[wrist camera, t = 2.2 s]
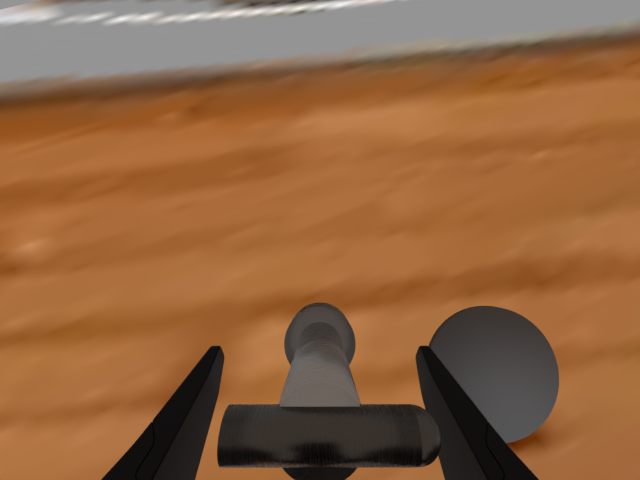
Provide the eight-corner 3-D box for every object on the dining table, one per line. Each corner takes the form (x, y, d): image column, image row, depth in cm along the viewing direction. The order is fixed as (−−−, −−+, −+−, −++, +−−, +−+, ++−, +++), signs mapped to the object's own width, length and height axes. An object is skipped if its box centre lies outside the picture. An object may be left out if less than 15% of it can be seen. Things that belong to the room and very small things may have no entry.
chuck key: (365, 365, 20) (456, 551, 7) (284, 365, 20) (213, 552, 7) (363, 302, 21) (446, 356, 7) (285, 302, 21) (220, 356, 7)
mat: (578, 373, 20) (586, 376, 20) (491, 467, 20) (497, 474, 19) (485, 279, 21) (490, 280, 20) (398, 367, 20) (400, 370, 20)
